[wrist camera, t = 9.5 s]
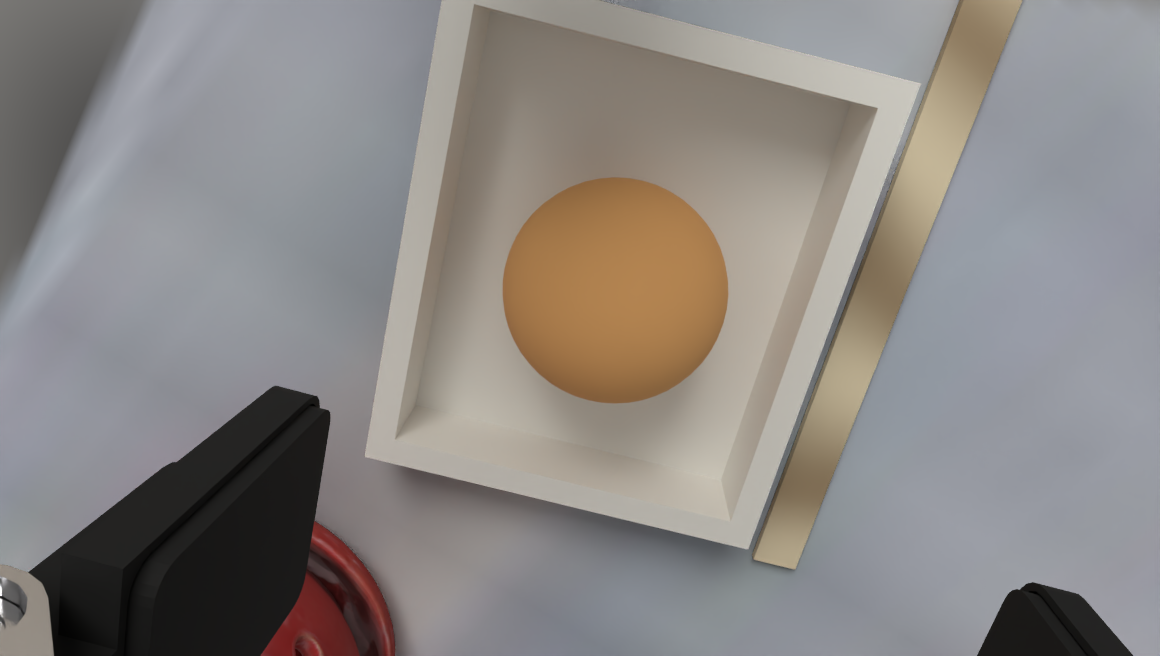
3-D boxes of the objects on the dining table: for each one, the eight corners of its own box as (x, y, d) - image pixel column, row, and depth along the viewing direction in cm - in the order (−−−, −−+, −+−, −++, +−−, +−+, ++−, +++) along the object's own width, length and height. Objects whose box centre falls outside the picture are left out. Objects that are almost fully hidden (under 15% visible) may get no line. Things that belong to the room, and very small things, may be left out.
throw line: (793, 564, 27) (795, 569, 27) (752, 554, 27) (753, 559, 27) (1035, -46, 21) (1041, -47, 21) (982, -60, 21) (986, -62, 21)
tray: (735, 497, 27) (748, 549, 24) (392, 414, 26) (364, 456, 24) (882, 81, 22) (920, 83, 19) (471, -26, 22) (448, -39, 19)
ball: (684, 377, 25) (699, 468, 19) (501, 331, 25) (461, 408, 19) (742, 193, 23) (777, 233, 17) (543, 142, 23) (512, 166, 17)
